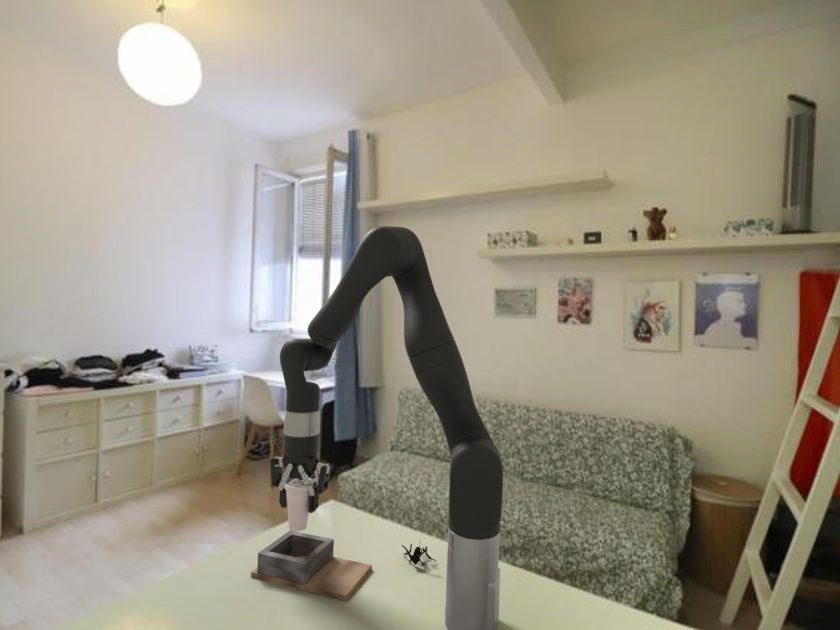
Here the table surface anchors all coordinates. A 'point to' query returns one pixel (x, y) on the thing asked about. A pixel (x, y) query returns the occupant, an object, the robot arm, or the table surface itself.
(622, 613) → the table surface
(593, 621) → the table surface
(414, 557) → the creature
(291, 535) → the board
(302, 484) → the smoothie
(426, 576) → the table surface
